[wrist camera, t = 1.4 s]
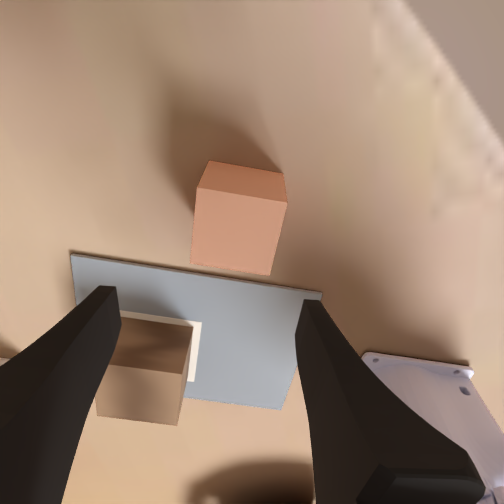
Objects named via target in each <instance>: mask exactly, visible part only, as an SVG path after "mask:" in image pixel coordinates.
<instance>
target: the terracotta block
mask: <svg viewBox="0 0 504 504" xmlns="http://www.w3.org/2000/svg"><path fill="white" fill-rule="evenodd" d="M287 204H288V202H287V196H286V189H285V183H284V176H283V173H277V172H271V171H266V170H260V169H255V168H249V167H244V166H238V165H232V164H227V163H221V162H216V161H210V160H209V162H208V164H207V166H206V168H205V171H204V173H203V175H202V177H201V179H200V182H199V184H198V186H197V193H196V203H195V214H194V224H193V235H192V246H191V256H190V263H191V264H198V265H204V266H210V267H217V268H223V269H229V270H236V271H242V272H248V273H255V274H261V275H267V276H270V272H271V268H272V264H273V260H274V256H275V252H276V248H277V244H278V240H279V236H280V232H281V228H282V224H283V220H284V216H285V212H286V208H287Z"/></svg>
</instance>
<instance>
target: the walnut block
mask: <svg viewBox="0 0 504 504" xmlns="http://www.w3.org/2000/svg"><path fill="white" fill-rule="evenodd" d="M121 322H122V326H121V330H120V333H119V337H118V341H117V344H116V347H115V350H114V353H113V355H112V358H111V360H110V362H109V365H108V367H107V369H106V372H105V374H104V376H103V379H102V381H101V383H100V386H99V388H98V390H97V392H96V395H95V400H96V410H97V416H103V417H111V418H119V419H127V420H134V421H142V422H150V423H158V424H166V425H174V426H177V423H178V419H179V414H180V410H181V405H182V401H183V396H184V392H185V387H186V383H187V378H188V371H189V362H190V354H191V345H192V336H193V328H194V327H189V326H182V325H175V324H168V323H162V322H155V321H148V320H141V319H134V318H127V317H121Z"/></svg>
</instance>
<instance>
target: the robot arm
mask: <svg viewBox="0 0 504 504" xmlns="http://www.w3.org/2000/svg"><path fill="white" fill-rule="evenodd" d="M121 326H122V322H121V315H120V309H119V302H118V296H117V289H116V286H103V285H99V286H98V287H97V288H96V289H95V290H93V291H92V292H91V293H90V294H89V295H88V296H87V297H86V298H85V299H84V300H83V301H82V302H81V303H79V304H78V305H77V306H76V307H75V308H74V309H73V310H72V311H71V312H70V313H68V314H67V315H66V316H65V317H64V318H63V319H62V320H60V321H59V322H58V323H57V324H56V325H55V326H53V327H52V328H51V329H50V330H49V331H47V332H46V333H45V334H44V335H42V336H41V337H40V338H39V339H37V340H36V341H35V342H34V343H32V344H31V345H30V346H28V347H27V348H26V349H24V350H23V351H22V352H20V353H19V354H17V355H16V356H14V357H13V358H12V359H10V360H9V361H7V362H6V363H4V364H3V365H1V366H0V504H61V502H62V499H63V495H64V491H65V488H66V484H67V480H68V477H69V473H70V470H71V466H72V463H73V460H74V456H75V453H76V449H77V446H78V443H79V440H80V436H81V433H82V430H83V427H84V424H85V421H86V418H87V415H88V412H89V409H90V407H91V404H92V402H93V399H94V397H95V395H96V392H97V390H98V388H99V386H100V383H101V381H102V379H103V376H104V374H105V372H106V369H107V367H108V365H109V362H110V360H111V358H112V355H113V353H114V350H115V347H116V344H117V341H118V337H119V333H120V330H121ZM295 348H296V359H297V365H298V370H299V375H300V380H301V385H302V390H303V394H304V399H305V404H306V409H307V415H308V421H309V428H310V438H311V447H312V458H313V470H314V482H315V496H316V504H504V434H503V432H502V431H501V429H500V427H499V426H498V424H497V422H496V421H495V419H494V418H493V416H492V414H491V413H490V411H489V410H488V408H487V406H486V405H485V403H484V401H483V400H482V398H481V397H480V395H479V393H478V392H477V390H476V388H475V387H474V385H473V384H472V382H471V380H470V378H471V377H472V376H473V374H474V371H473V369H472V368H471V367H469V366H462V365H455V364H448V363H441V362H434V361H428V360H421V359H414V358H407V357H400V356H393V355H387V354H380V353H373V352H367V353H365V354H364V355H363V356H362V358H360V356H359V355H358V354H357V353H356V352H355V350H354V349H353V348H352V346H351V345H350V344H349V342H348V341H347V340H346V338H345V337H344V336H343V334H342V333H341V332H340V330H339V329H338V327H337V326H336V324H335V323H334V321H333V320H332V318H331V317H330V315H329V314H328V312H327V311H326V309H325V308H324V306H323V305H322V303H321V302H320V301H319V300H310V299H304V300H303V304H302V308H301V312H300V316H299V320H298V324H297V327H296V331H295ZM375 358H376V359H375Z"/></svg>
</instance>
